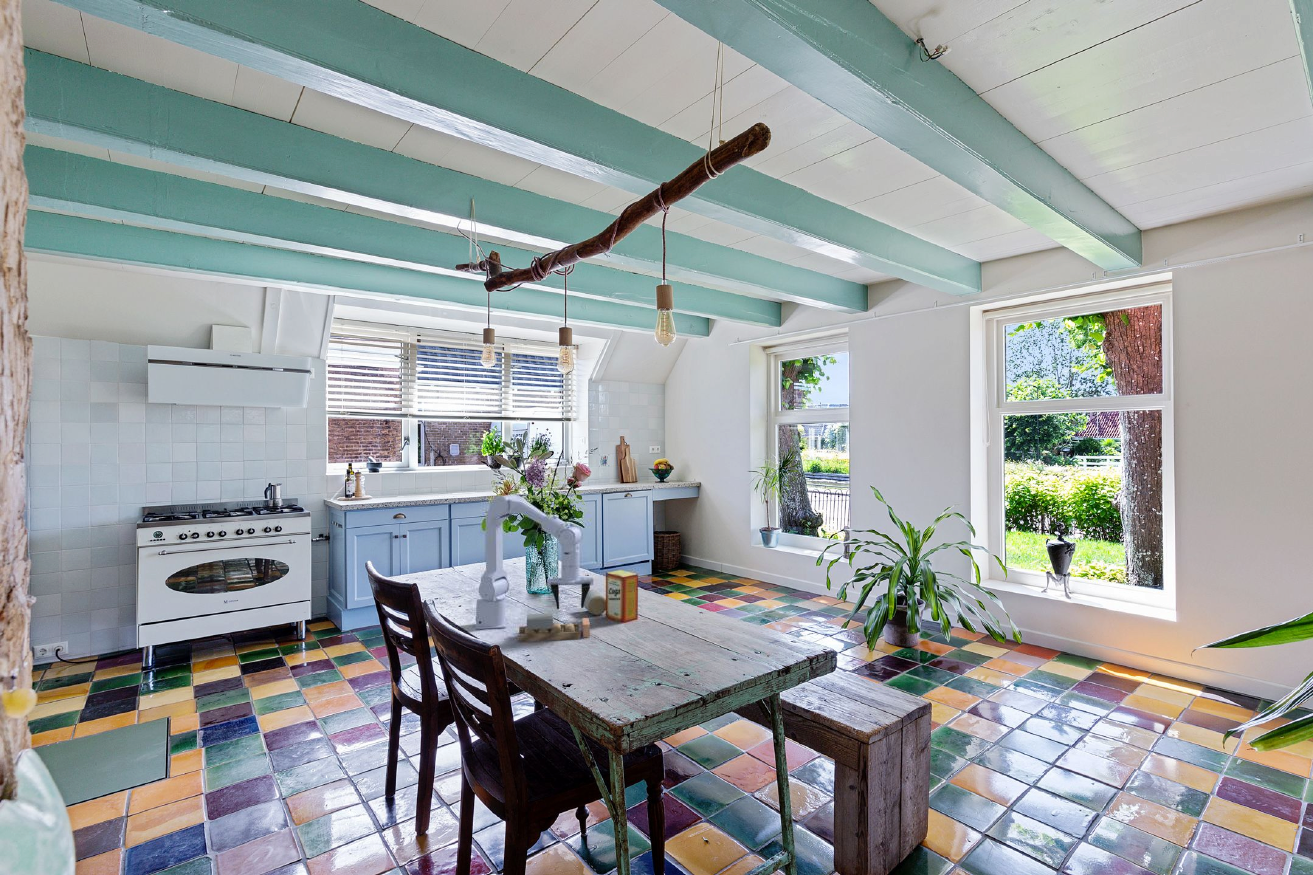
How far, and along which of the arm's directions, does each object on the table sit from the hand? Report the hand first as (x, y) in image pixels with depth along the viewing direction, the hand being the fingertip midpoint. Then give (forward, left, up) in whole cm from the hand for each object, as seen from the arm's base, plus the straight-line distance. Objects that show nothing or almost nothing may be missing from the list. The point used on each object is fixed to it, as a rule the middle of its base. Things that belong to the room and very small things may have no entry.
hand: (570, 607), depth 201 cm
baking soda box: (+19, +15, -9) cm, 25 cm away
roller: (0, 0, -9) cm, 9 cm away
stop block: (+5, 0, -9) cm, 10 cm away
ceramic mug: (+11, +23, -9) cm, 27 cm away
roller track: (-6, 0, -9) cm, 11 cm away
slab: (-9, 0, -5) cm, 11 cm away
